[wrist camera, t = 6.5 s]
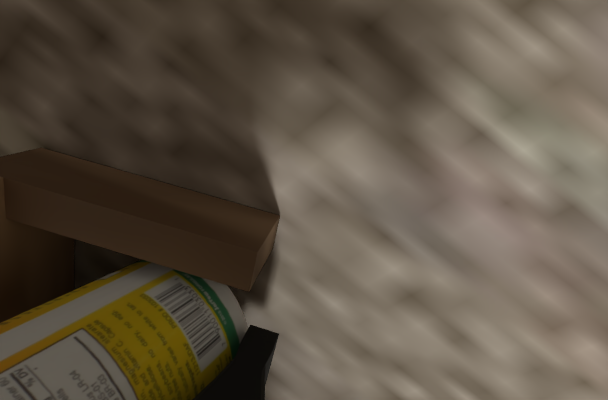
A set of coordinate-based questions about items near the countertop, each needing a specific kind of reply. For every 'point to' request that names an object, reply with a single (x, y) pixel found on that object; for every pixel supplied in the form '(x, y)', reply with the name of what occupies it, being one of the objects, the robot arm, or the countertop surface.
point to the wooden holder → (115, 227)
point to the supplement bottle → (123, 339)
